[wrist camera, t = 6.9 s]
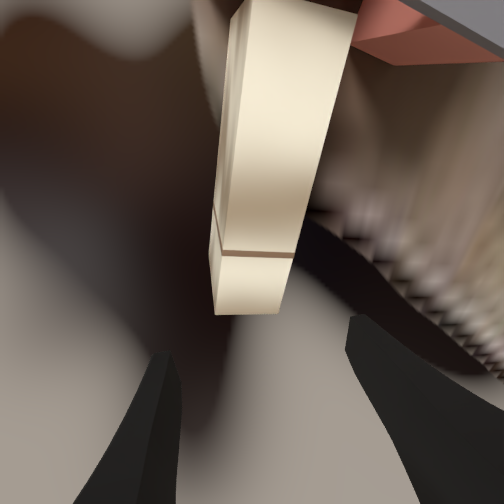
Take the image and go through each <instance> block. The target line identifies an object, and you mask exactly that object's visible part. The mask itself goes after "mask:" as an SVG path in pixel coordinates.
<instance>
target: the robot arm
mask: <svg viewBox="0 0 504 504" xmlns="http://www.w3.org/2000/svg"><path fill="white" fill-rule="evenodd" d="M345 351H346V354H347V356H348V359H349V361H350V363H351V366H352V368H353V370H354V373H355V375H356V377H357V378H358V380H359V382H360V384H361V386H362V387H363V389H364V391H365V393H366V395H367V396H368V398H369V400H370V402H371V403H372V405H373V407H374V408H375V410H376V412H377V414H378V416H379V417H380V419H381V421H382V423H383V424H384V426H385V428H386V430H387V432H388V434H389V435H390V437H391V439H392V441H393V443H394V446H395V448H396V450H397V452H398V454H399V456H400V458H401V461H402V463H403V465H404V467H405V469H406V472H407V474H408V476H409V479H410V481H411V483H412V485H413V488H414V490H415V492H416V495H417V497H418V499H419V502H420V504H504V411H503V410H501V409H499V408H497V407H496V406H494V405H492V404H490V403H488V402H487V401H485V400H483V399H482V398H480V397H478V396H477V395H475V394H473V393H472V392H470V391H469V390H467V389H465V388H464V387H462V386H460V385H459V384H457V383H456V382H454V381H452V380H451V379H449V378H448V377H446V376H445V375H444V374H442V373H441V372H439V371H438V370H436V369H435V368H433V367H432V366H431V365H429V364H428V363H426V362H425V361H424V360H422V359H421V358H420V357H418V356H417V355H416V354H414V353H413V352H412V351H410V350H409V349H408V348H406V347H405V346H403V345H402V344H401V343H400V342H399V341H397V340H396V339H395V338H394V337H392V336H391V335H390V334H389V333H387V332H386V331H385V330H383V329H382V328H381V327H380V326H379V325H377V324H376V323H375V322H374V321H373V320H371V319H370V318H369V317H367V316H366V315H365V314H363V315H357V316H352V317H350V322H349V329H348V334H347V341H346V346H345ZM181 389H182V388H181V380H180V377H179V374H178V371H177V368H176V366H175V363H174V360H173V357H172V354H171V351H164V352H160V353H154V354H153V355H152V356H151V359H150V362H149V364H148V367H147V369H146V372H145V374H144V376H143V379H142V381H141V383H140V385H139V388H138V390H137V392H136V394H135V396H134V398H133V400H132V402H131V404H130V407H129V409H128V411H127V413H126V415H125V417H124V419H123V421H122V422H121V424H120V426H119V428H118V430H117V432H116V433H115V435H114V437H113V439H112V441H111V443H110V445H109V446H108V448H107V450H106V451H105V453H104V455H103V457H102V458H101V460H100V462H99V463H98V465H97V467H96V468H95V470H94V472H93V473H92V475H91V476H90V478H89V480H88V481H87V483H86V484H85V486H84V487H83V489H82V490H81V492H80V494H79V495H78V496H77V498H76V500H75V501H74V503H73V504H176V477H177V465H178V453H179V440H180V429H181V416H182V390H181Z"/></svg>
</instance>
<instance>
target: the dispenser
mask: <svg viewBox="0 0 504 504" xmlns="http://www.w3.org/2000/svg"><path fill="white" fill-rule="evenodd" d="M350 45H351V46H353V47H355V48H357V49H359V50H362V51H364V52H366V53H368V54H370V55H372V56H374V57H376V58H379V59H381V60H383V61H385V62H387V63H389V64H391V65H394V66H400V65H426V64H451V63H477V62H503V61H504V0H363V1H362V3H361V6H360V9H359V11H358V17H357V21H356V24H355V28H354V32H353V36H352V39H351V43H350Z"/></svg>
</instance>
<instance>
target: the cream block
mask: <svg viewBox="0 0 504 504" xmlns="http://www.w3.org/2000/svg"><path fill="white" fill-rule="evenodd" d="M357 17H358V14H354V13H351V12H347V11H343V10H339V9H335V8H331V7H328V6H324V5H320V4H316V3H312V2H309V1H305V0H244V2H243V3H242V5H241V6H240V7H239V9H238V10H237V11H236V13H235V14H234V15H233V17H232V18H231V20H230V31H229V42H228V52H227V63H226V74H225V85H224V96H223V107H222V117H221V128H220V139H219V150H218V161H217V173H216V183H215V193H214V201H213V215H212V226H211V237H210V248H209V261H210V270H211V280H212V289H213V299H214V308H215V315H230V314H232V315H233V314H278V313H279V309H280V305H281V302H282V298H283V294H284V290H285V287H286V283H287V279H288V275H289V272H290V268H291V264H292V260H293V258H294V255H295V249H296V245H297V241H298V238H299V234H300V230H301V227H302V223H303V219H304V216H305V212H306V208H307V204H308V201H309V197H310V193H311V189H312V186H313V182H314V178H315V174H316V171H317V167H318V163H319V159H320V156H321V152H322V148H323V144H324V141H325V137H326V133H327V129H328V126H329V122H330V118H331V114H332V111H333V107H334V103H335V99H336V96H337V92H338V88H339V84H340V81H341V77H342V73H343V69H344V66H345V62H346V58H347V54H348V51H349V47H350V43H351V39H352V36H353V32H354V28H355V24H356V21H357Z"/></svg>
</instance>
